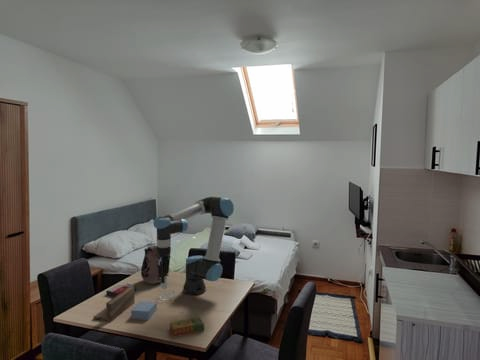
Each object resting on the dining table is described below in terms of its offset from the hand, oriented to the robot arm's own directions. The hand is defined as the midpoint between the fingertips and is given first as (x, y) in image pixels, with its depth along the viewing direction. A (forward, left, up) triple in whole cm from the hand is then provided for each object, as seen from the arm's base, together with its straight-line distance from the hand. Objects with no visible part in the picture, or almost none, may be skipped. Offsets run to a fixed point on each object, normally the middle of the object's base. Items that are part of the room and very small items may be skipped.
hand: (163, 287), depth 183 cm
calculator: (+42, -25, -17) cm, 51 cm away
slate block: (+12, 0, -17) cm, 21 cm away
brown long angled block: (+30, 0, -16) cm, 35 cm away
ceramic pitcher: (+29, -49, -17) cm, 59 cm away
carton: (-18, +11, -17) cm, 27 cm away
